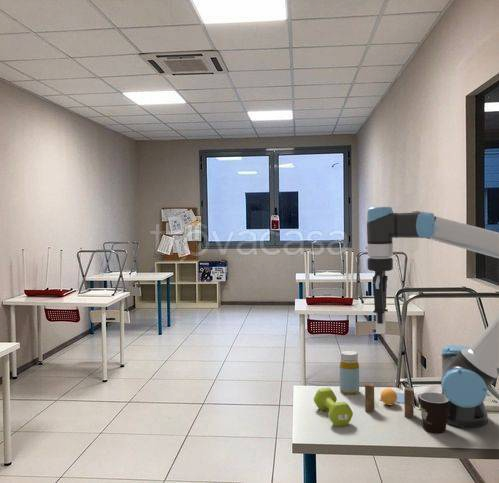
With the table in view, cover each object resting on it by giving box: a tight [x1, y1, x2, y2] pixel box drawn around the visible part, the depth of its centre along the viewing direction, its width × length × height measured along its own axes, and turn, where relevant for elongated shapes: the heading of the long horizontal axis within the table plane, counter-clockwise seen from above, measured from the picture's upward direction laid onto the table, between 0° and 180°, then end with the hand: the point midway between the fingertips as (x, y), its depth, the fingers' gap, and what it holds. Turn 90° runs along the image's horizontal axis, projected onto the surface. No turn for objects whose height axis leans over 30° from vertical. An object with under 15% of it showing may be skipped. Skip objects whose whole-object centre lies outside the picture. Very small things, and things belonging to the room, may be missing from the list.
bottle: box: [339, 349, 360, 396], centre depth 181 cm, size 7×7×15 cm
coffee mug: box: [417, 391, 449, 435], centre depth 151 cm, size 12×9×10 cm
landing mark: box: [379, 391, 404, 404], centre depth 175 cm, size 9×9×1 cm
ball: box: [380, 387, 397, 406], centre depth 169 cm, size 6×6×6 cm
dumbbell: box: [313, 387, 354, 427], centre depth 161 cm, size 16×8×7 cm, turn 13°
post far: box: [364, 382, 375, 413], centre depth 164 cm, size 3×3×9 cm
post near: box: [403, 386, 415, 419], centre depth 159 cm, size 3×3×9 cm
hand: (380, 333), depth 151 cm, fingers closed
